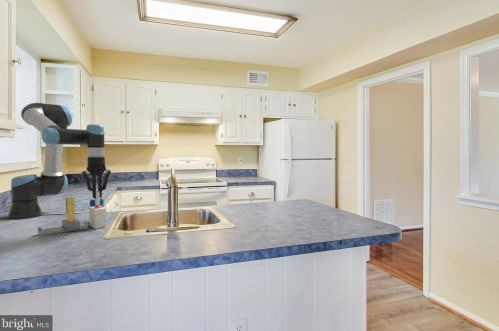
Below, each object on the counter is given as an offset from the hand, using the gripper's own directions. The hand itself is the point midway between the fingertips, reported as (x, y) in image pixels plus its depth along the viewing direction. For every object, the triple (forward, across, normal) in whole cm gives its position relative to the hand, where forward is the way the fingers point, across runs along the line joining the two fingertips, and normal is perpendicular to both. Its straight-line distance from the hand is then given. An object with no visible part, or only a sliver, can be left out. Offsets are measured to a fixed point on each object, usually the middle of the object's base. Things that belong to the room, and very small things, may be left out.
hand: (97, 204), depth 145 cm
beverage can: (+11, +2, +11) cm, 16 cm away
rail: (+11, -14, 0) cm, 18 cm away
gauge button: (+8, 0, 0) cm, 8 cm away
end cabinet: (+11, 0, 0) cm, 11 cm away
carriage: (+11, -12, 0) cm, 16 cm away
